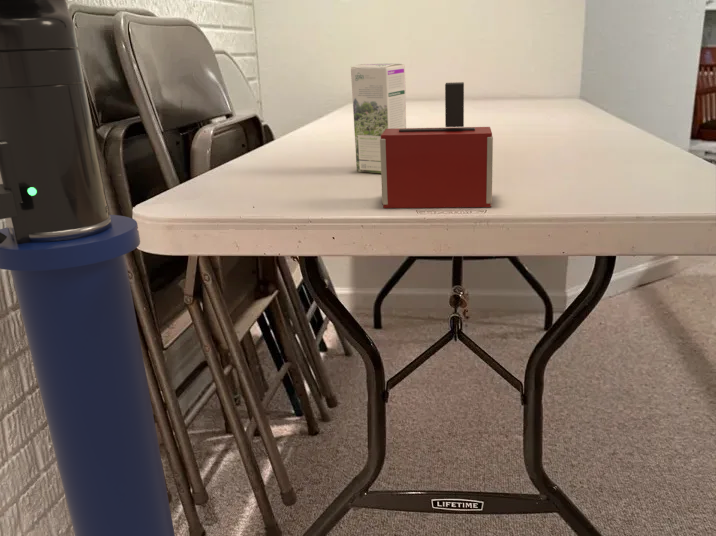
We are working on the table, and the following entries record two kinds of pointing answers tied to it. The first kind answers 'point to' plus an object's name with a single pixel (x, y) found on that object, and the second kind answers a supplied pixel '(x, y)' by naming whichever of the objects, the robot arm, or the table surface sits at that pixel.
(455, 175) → the toaster
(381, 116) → the syrup box
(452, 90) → the block
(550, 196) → the table surface
